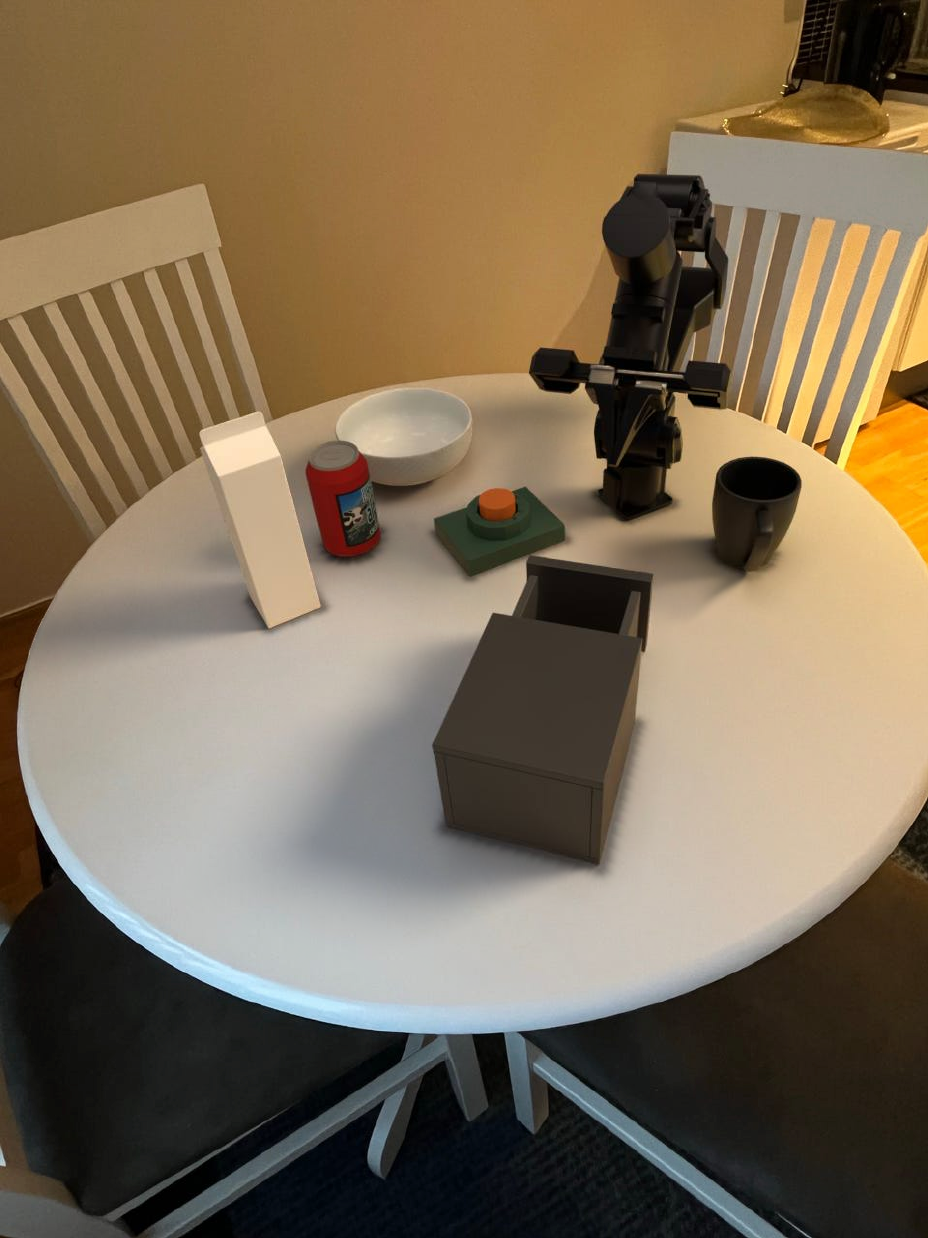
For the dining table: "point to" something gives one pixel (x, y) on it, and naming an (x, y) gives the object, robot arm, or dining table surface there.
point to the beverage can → (343, 498)
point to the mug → (753, 509)
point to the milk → (260, 517)
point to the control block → (498, 533)
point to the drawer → (587, 596)
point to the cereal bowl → (408, 434)
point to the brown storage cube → (540, 735)
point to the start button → (497, 504)
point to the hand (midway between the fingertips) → (612, 465)
